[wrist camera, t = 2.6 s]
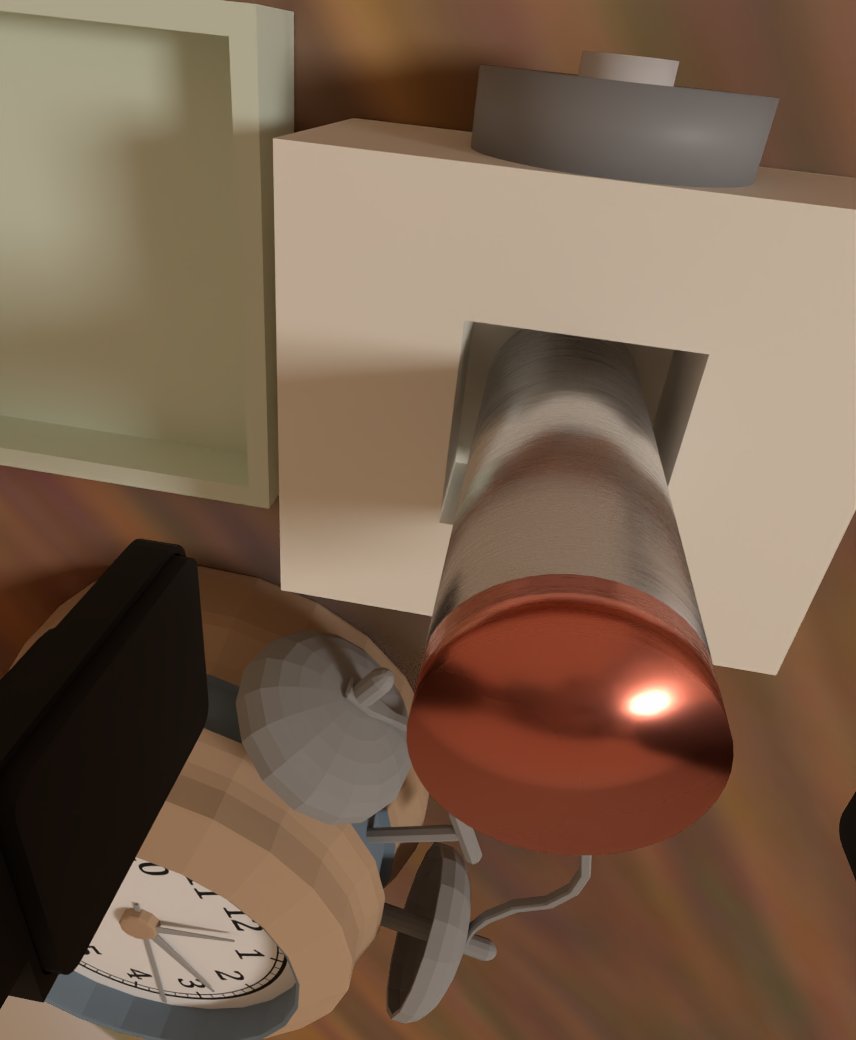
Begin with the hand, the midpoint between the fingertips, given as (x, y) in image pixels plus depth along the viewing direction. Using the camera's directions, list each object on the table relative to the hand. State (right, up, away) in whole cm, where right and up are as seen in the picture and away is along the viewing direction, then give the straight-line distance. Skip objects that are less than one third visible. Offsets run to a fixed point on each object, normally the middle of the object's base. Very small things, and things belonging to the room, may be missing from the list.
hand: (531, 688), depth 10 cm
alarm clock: (-7, -6, +20) cm, 22 cm away
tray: (-11, +10, +11) cm, 18 cm away
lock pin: (+2, +5, +8) cm, 10 cm away
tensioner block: (+2, +7, +10) cm, 13 cm away
